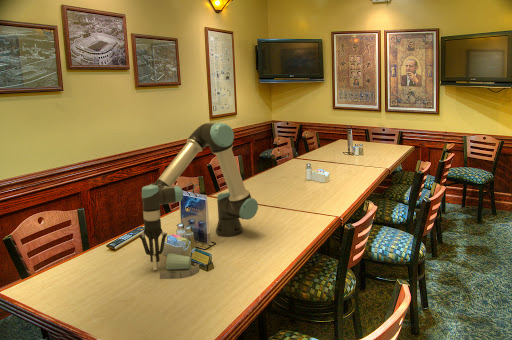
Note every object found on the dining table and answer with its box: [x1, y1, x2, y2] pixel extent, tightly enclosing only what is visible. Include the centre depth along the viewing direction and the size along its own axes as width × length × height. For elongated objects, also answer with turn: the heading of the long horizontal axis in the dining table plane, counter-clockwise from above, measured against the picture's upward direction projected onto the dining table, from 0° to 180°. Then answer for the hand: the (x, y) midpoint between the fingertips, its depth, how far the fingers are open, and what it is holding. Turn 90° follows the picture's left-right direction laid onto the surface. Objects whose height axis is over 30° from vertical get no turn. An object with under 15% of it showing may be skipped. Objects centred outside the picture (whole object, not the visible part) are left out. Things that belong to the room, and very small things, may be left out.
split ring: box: [159, 263, 200, 280], centre depth 206 cm, size 16×18×2 cm
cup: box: [165, 252, 192, 271], centre depth 207 cm, size 8×8×10 cm
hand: (155, 268), depth 206 cm, fingers closed
